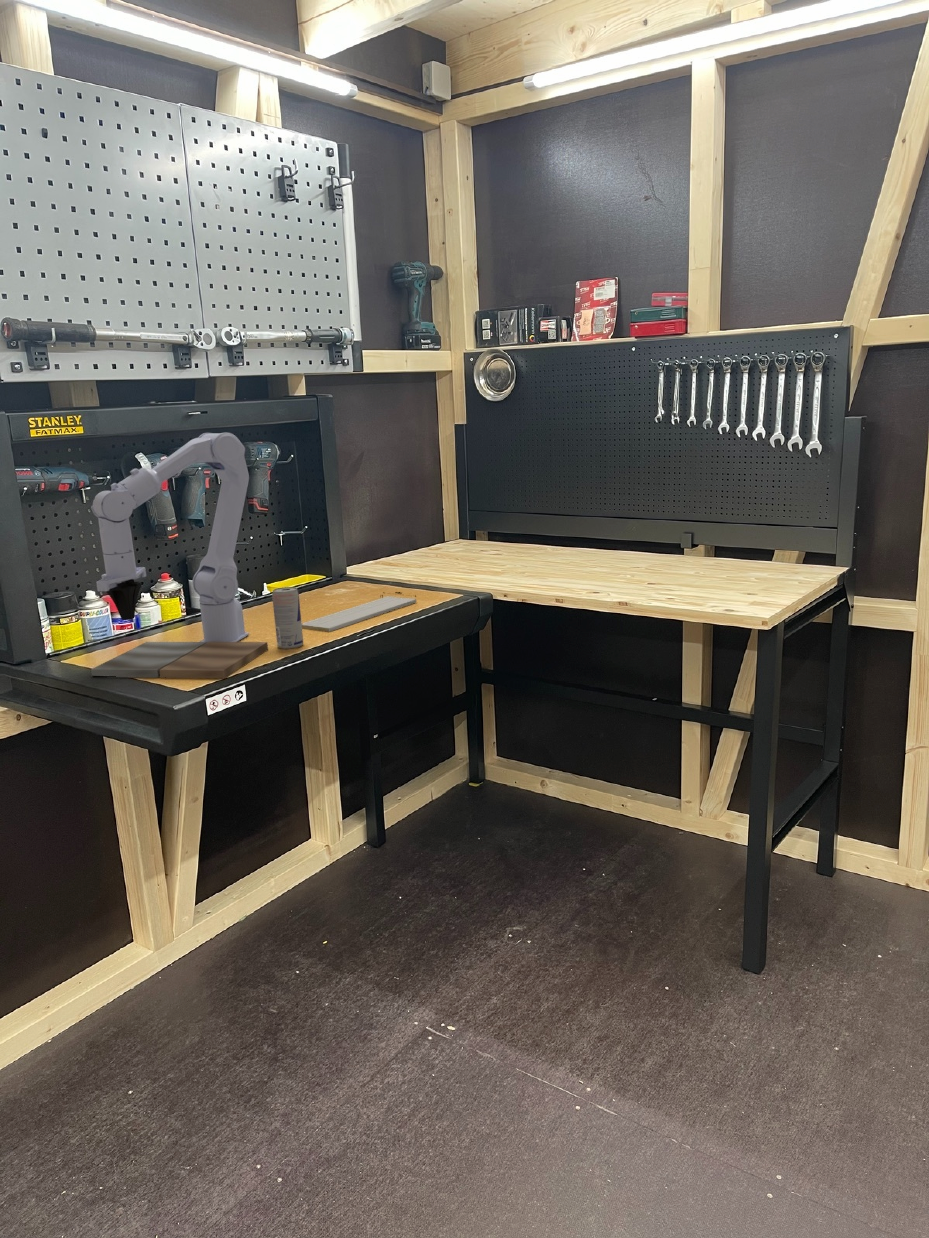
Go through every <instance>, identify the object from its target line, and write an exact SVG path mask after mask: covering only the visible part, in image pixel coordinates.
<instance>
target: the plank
mask: <svg viewBox="0 0 929 1238" xmlns="http://www.w3.org/2000/svg"><path fill="white" fill-rule="evenodd" d="M206 643H207V642H200V641H145V642H144V643H141V644H139V645H137V646H135V647H133V648H131V649H129V650H127V651H125V652H122V653H121V654H119V655H117V656H115V657H113V658H111V659H109V660H107V661H105V662H103V663H101V664H99V665H97V666H95V667H93V668H91V669H90V673H91V676H92V675H109V676H116V677H115V678H146V679H148V678H149V679H150V678H154V679H157V678H158V679H159V678H160V671H159V670H160V669H162V668H163V667H165V666H167V665H169V664H171V663H172V662H174V661H176V660H178V659H179V658H181V657H183V656H185V655H187V654H188V653H190V652H192V651H194V650H195V649H197V648H199V647H201V646H202V645H204V644H206Z"/></svg>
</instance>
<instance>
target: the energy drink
mask: <svg viewBox="0 0 929 1238" xmlns="http://www.w3.org/2000/svg"><path fill="white" fill-rule="evenodd" d="M271 597H272V607H273V616H274V627H275V635H276V636H275V638H276V646H277V647H278V649H282V650H283V649H284V650H291V649H298V648H299V647H302V646H303V645H304V635H303V628H302V623H303V622H302V615H301V606H300V605H301V604H300V602H301V601H300V593H299V590H298V587H295V586H283V587H277V588H275V589H274V588H273V589H272V594H271Z"/></svg>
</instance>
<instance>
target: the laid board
mask: <svg viewBox="0 0 929 1238" xmlns="http://www.w3.org/2000/svg"><path fill="white" fill-rule="evenodd" d="M268 650H269V647H268V642H267V641H237V642H208V643H206V644H204V645H202V646H201V647H199V648H197V649H195V650H194V651H192V652H190V653H188V654H187V655H185V656H183V657H181V658H179V659H178V660H176V661H174V662H172V663H171V664H169V665H167V666H165V667H163V668H162V669H160V670H159V671H160V677H159V678H160V679H198V678H217V679H216V680H225V679H226V678H228V677H229V676H231V675H232V674H233V673H235V672H236V671H238V670H240V669H241V668H243V667H244V666H245V664H246V665H247V664H248V663H249V664H250V662H252V661H253V660H255V659H257V658H259V656H261V655H262V654H264V653H265V652H267V651H268ZM230 674H231V675H230ZM165 677H166V678H165ZM172 677H173V678H172ZM224 678H225V679H224Z"/></svg>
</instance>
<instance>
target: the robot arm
mask: <svg viewBox="0 0 929 1238" xmlns="http://www.w3.org/2000/svg"><path fill="white" fill-rule="evenodd" d="M245 453H246V447H245V446H244V444H243V443H242V442H241V441H240V439H239V438H238V437H237V436H236V435H234V433H232V432H221V433H213V432H204V433H202V434H200V435H199V436H198V437H195V438H193V439H190V440H189V441H188V442H186V443H185V444H184V445H182V446H181V447H179V448H178V449H177V450H176V451H175V452H173V453H171V454H170V455H169V456H167V457H166V458H165V459H163V460H162V461H160V462H159V463H158V464H157V465H155V466H154V467H153V468H151V469H149V468H146V467H141V468H133V469H132V470H130V471H129V473H130V475H129V476H127V477H126V478H124V479H123V480H121V481H119V482H118V483H116V482H113V483H112V484H110V488H111V490H103V491H100V492H99V493H97V494H96V495H95V496H94V499H93V500H92V505H91V506H90V508H91V511H92V514H93V515H94V516H95V517H97V520H98V526H99V535H100V542H101V549H102V556H103V562H104V570H105V573H103V574H101V579H99V580H97V581H96V589H97V590H96V591H97V592H106V594H108V596H109V597H110V599H111V600H112V601H113V603H114V606H115V607H116V610H117V611H118V614H119V616H120V618H121V621H131V620H133V619H135V615H136V607H137V600H138V596H139V593H140V590H141V588H142V582H141V581H135V580H138V579H140V578H146V577H147V570H146V567H144V566H139V567H138V566H137V565H136V564H137V563H136V557H135V550H134V545H133V544H134V543H133V538H132V537H133V536H132V530H131V529H132V528H131V525H130V517H131V516H132V513H133V510H135V509H137V508H138V507H140V506H141V505H143V504H144V503H145V502H147V501H149V500H150V499H152V498H153V497H155V496H156V495H158V494H159V493H160V492H161V489H162V484H163V483H164V482H166V481H167V480H169V479H170V478H172V477H174V476H175V475H177V474H179V473H180V472H182V471H184V470H185V469H187V468H189V467H191V465H194V464H199V463H201V464H202V463H204V464H206V466H208V467H210V468H211V469H212V470H213V471H214V473H215V474H216V475H217V477H218V478H219V479H220V481H221V484H220V489H219V495H218V499H217V504H216V508H215V509H216V510H215V514H214V519H213V523H212V528H211V534H210V539H209V544H208V549H207V553H206V555H205V556H204V557H203V558H202V559H201V561H200V563H199V568H198V569H197V571H196V572H195V574H194V575H193V577H192V582H191V583H192V584H191V585H192V589H193V590H194V592H195V593H196V594H197V595H198V596H199V601H198V602H199V607H200V618H201V625H202V634H203V639H202V640H200V641H199V642H207V643H208V642H240V641H241V640H243V639H244V638H246V637H247V636H249V635H250V632H248V631H247V632H246V629H245V621H244V620H245V619H244V612H243V609H244V608H243V607H242V606H243V605H242V603H241V602H240V601H239V600H238V599H237V598H236V595H237V593H238V590H239V582H238V579H237V577H238V576H237V573H238V567H237V564H236V562H235V560H234V556H235V555H234V554H235V551H236V547H237V546H236V545H237V543H238V542H237V541H238V536H239V531H240V530H239V529H240V526H241V521H242V517H243V516H242V515H243V511H244V507H245V502H246V501H245V500H246V496H247V490H248V485H249V482H250V481H249V480H250V475H249V471H248V466H247V462H246V458H245Z"/></svg>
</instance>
